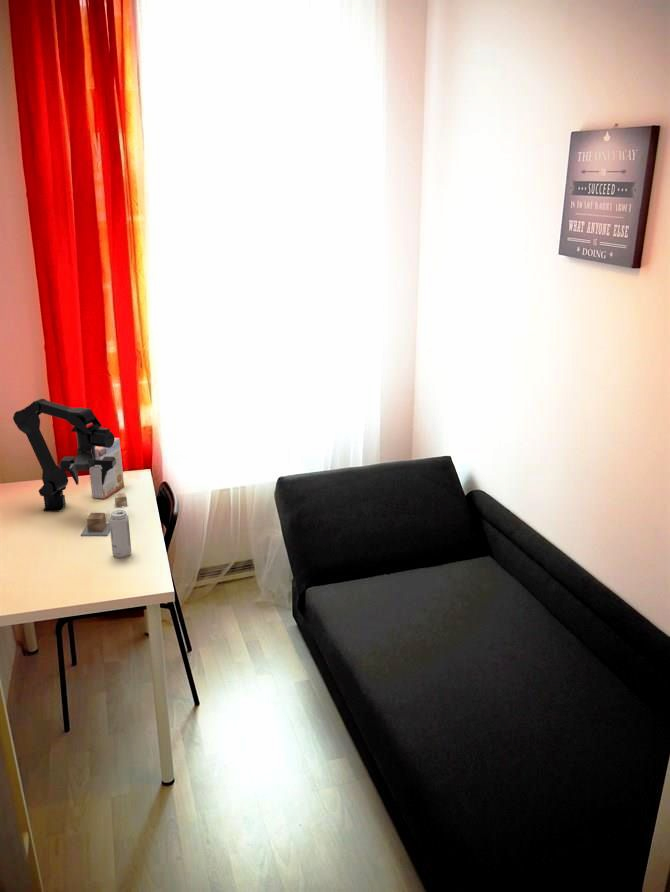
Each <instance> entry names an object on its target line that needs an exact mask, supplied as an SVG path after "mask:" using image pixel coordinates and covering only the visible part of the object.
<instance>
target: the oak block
mask: <svg viewBox="0 0 670 892" xmlns="http://www.w3.org/2000/svg"><path fill="white" fill-rule="evenodd" d="M113 495H114V502H115V503H114V504H115V507H117V508H123V507H122V506H124V507H128V499H127V494H126V492H121V493H113Z"/></svg>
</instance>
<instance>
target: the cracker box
mask: <svg viewBox="0 0 670 892" xmlns="http://www.w3.org/2000/svg"><path fill="white" fill-rule="evenodd" d="M121 450H122V449H121V441H120V437H114V444H113V446H112V447H110V448H105V447H99V446H96V447H95V454H96V455H97V458H96V460H102V459H103V458H104V457H115V459H116V464H115V466H114V467H113V468H112V469H110V470H109V471H108V472H107V475H106V479H105V482H104V485H102V472H101V469H102V467H101V465H95V466H92V467H90V469H89V470H88V471H89V477H90V478H89V480H90V486H91V488H90V489H91V494H92V495H91V496H92V498H93V499H101V500H106V499H107V498H109V497H110V496H112V495H114V494H116V492H117V491H119V490H120V489H122V488H124V487H125V481H124V480H125V479H124V470H123V464H122V463H123V462H122V461H123V460H122V451H121Z"/></svg>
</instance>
